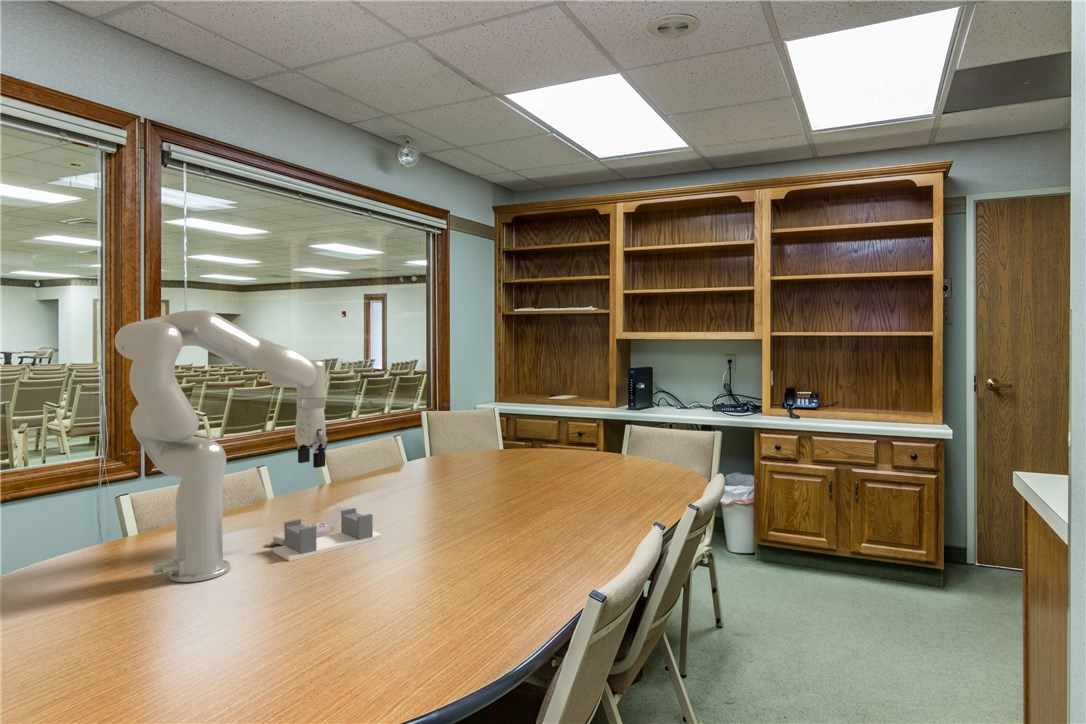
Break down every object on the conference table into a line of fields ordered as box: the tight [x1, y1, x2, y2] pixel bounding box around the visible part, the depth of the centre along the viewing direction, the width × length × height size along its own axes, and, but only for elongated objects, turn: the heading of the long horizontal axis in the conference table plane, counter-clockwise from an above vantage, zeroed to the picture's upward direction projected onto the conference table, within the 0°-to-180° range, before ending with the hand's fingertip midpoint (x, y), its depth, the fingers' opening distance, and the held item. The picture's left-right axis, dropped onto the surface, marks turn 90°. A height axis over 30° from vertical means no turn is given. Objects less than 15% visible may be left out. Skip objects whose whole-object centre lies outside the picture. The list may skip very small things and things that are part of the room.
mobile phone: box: [266, 505, 352, 547], centre depth 171 cm, size 6×6×25 cm
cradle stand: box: [272, 507, 383, 562], centre depth 163 cm, size 26×10×7 cm, turn 136°
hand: (311, 464), depth 170 cm, fingers open, 9 cm apart
